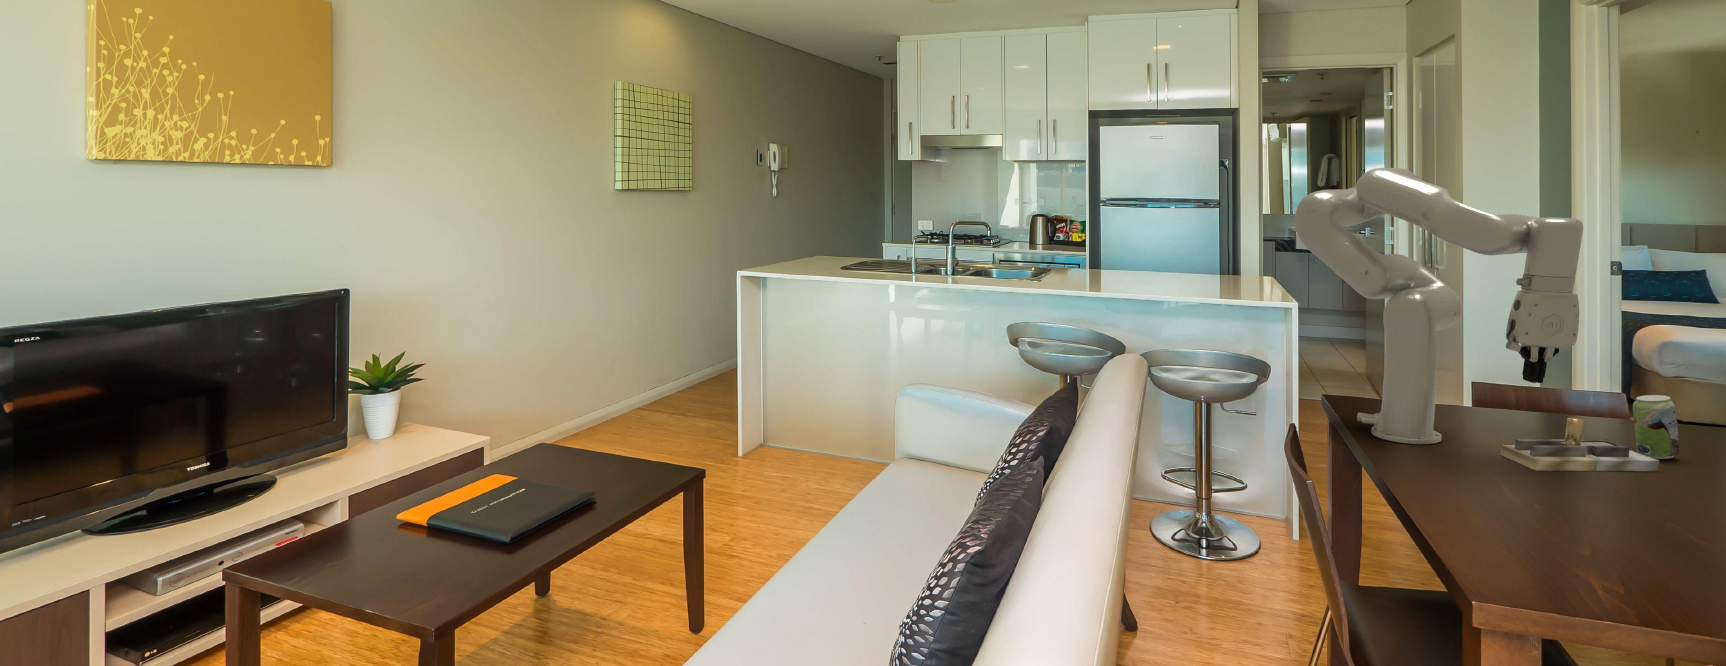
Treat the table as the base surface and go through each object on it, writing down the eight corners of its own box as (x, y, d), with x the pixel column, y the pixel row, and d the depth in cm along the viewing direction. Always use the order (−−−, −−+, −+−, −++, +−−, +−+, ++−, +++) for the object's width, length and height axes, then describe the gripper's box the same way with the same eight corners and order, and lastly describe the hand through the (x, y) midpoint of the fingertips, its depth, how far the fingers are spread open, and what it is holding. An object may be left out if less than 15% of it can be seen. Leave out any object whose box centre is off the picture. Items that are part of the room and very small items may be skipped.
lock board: (1535, 470, 158) (1537, 450, 157) (1500, 454, 168) (1502, 436, 167) (1658, 471, 156) (1660, 451, 155) (1615, 455, 166) (1617, 436, 165)
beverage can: (1686, 462, 160) (1694, 400, 159) (1641, 461, 162) (1648, 399, 160) (1663, 453, 167) (1670, 392, 165) (1619, 451, 168) (1626, 392, 166)
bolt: (1568, 453, 160) (1571, 420, 159) (1559, 450, 163) (1562, 417, 162) (1613, 453, 160) (1617, 420, 159) (1603, 450, 162) (1607, 417, 161)
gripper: (1518, 287, 154) (1503, 385, 158) (1606, 288, 153) (1589, 387, 157) (1492, 281, 162) (1478, 375, 165) (1575, 283, 161) (1560, 377, 164)
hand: (1532, 381), depth 161 cm, fingers closed
